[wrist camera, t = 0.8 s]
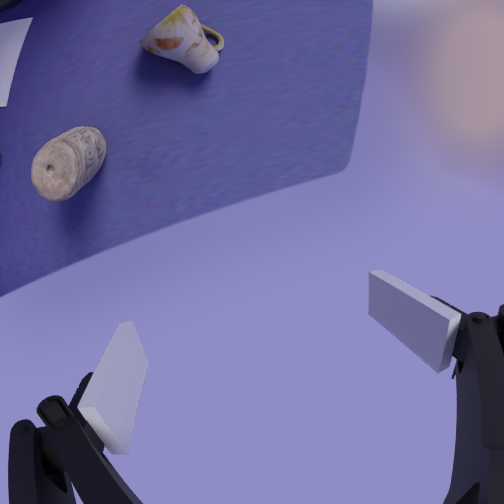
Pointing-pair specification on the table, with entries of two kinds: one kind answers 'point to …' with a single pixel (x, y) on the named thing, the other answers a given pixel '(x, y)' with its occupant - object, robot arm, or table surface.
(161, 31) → the mug
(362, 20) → the table surface
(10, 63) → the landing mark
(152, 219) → the table surface
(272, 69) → the table surface
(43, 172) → the carving
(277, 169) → the table surface
